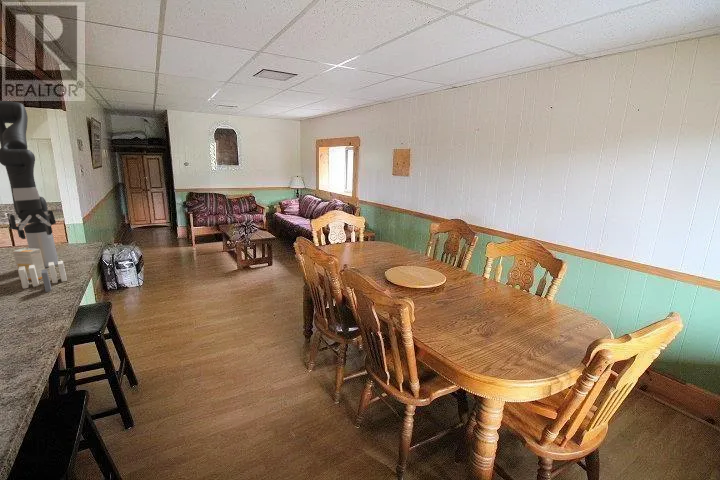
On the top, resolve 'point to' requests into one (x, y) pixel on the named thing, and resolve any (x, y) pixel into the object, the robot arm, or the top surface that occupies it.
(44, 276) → the charcoal domino
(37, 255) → the supplement box
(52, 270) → the ivory domino
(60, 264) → the ivory domino
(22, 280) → the ivory domino
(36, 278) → the ivory domino
